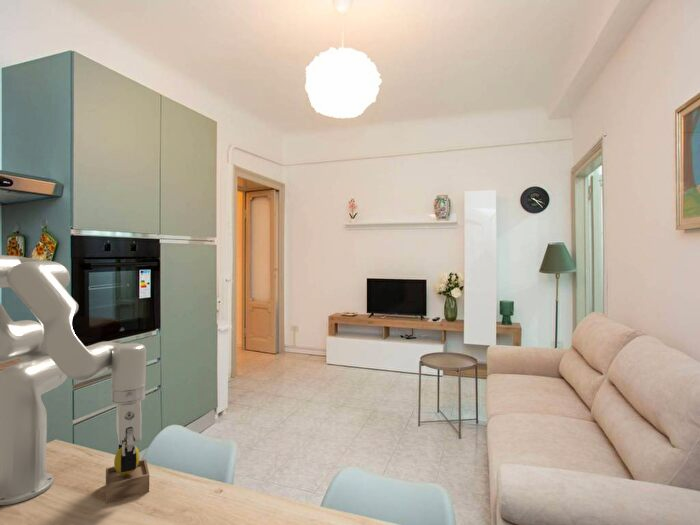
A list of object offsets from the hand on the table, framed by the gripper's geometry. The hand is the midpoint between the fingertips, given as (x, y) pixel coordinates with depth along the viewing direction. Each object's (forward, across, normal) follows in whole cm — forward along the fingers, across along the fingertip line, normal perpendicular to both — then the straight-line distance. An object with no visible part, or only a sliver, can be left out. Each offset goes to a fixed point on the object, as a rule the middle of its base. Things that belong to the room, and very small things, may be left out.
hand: (127, 461), depth 97 cm
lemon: (+4, 0, 0) cm, 4 cm away
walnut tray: (+7, 0, 0) cm, 7 cm away
